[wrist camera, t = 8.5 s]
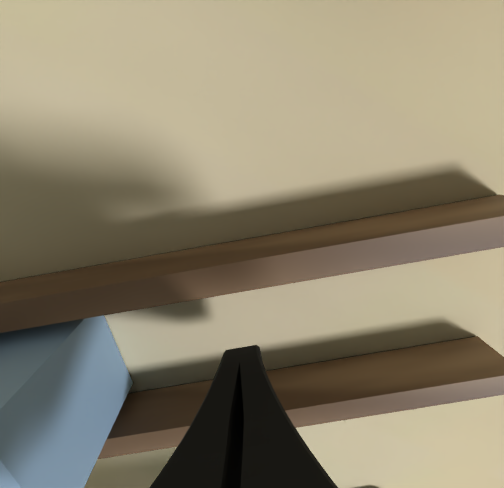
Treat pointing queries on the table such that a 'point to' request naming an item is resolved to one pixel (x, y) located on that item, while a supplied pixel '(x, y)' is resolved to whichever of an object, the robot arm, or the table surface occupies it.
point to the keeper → (58, 401)
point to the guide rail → (273, 274)
